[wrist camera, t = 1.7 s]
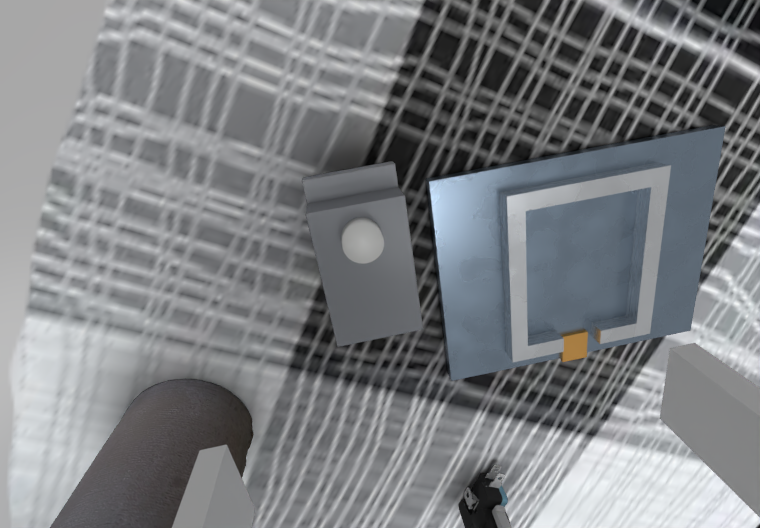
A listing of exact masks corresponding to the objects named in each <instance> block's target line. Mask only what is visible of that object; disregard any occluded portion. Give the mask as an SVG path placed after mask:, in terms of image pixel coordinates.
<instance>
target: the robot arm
mask: <svg viewBox="0 0 760 528" xmlns="http://www.w3.org/2000/svg"><path fill="white" fill-rule="evenodd" d="M660 419H661V420H662V421H663V422H664V423H665V424H666V425H667V426H668V427H669V428H670V429H671V430H672V431H673V432H674V433H675V434H676V435H677V436H678V437H679V438H680V439H681V440H682V441H683V442H684V443H685V444H686V445H687V446H688V447H689V448H690V449H691V450H692V451H693V452H694V453H695V454H696V455H697V456H698V457H699V458H700V459H701V460H702V461H703V462H704V463H705V464H706V465H707V466H708V467H709V468H710V469H711V470H712V471H713V472H714V473H715V474H716V475H718V476H719V477H720V478H721V479H722V480H723V481H724V482H725V483H726V484H727V485H728V486H729V487H730V488H731V489H732V490H733V491H734V492H735V493H736V494H737V495H738V496H739V497H740V498H741V499H742V500H743V501H744V502H745V503H746V504H747V505H748V506H749V507H750V508H751V509H752V510H753V511H754V512H755V513H756V514H757V515H758V516H759V517H760V388H759V387H758V386H756V385H755V384H754V383H752V382H751V381H749V380H748V379H746V378H745V377H743V376H742V375H741V374H739V373H738V372H736V371H735V370H733V369H732V368H730V367H729V366H727V365H726V364H725V363H723V362H722V361H720V360H719V359H717V358H716V357H714V356H713V355H712V354H710V353H709V352H707V351H706V350H704V349H703V348H701V347H700V346H698V345H697V344H696V343H692V344H687V345H683V346H678V347H674V348H670V351H669V358H668V365H667V372H666V379H665V386H664V393H663V400H662V407H661V414H660ZM254 512H255V507H254V505H253V503H252V501H251V498H250V496H249V494H248V492H247V489H246V487H245V485H244V482H243V480H242V478H241V476H240V473H239V471H238V469H237V467H236V464H235V462H234V460H233V458H232V455H231V453H230V451H229V448H228V446H227V445H222V446H217V447H213V448H208V449H204V450H200V451H199V454H198V457H197V459H196V462H195V465H194V468H193V470H192V473H191V476H190V479H189V481H188V484H187V487H186V490H185V493H184V495H183V498H182V501H181V504H180V506H179V509H178V512H177V515H176V518H175V520H174V523H173V526H172V528H252V524H253V518H254Z"/></svg>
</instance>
